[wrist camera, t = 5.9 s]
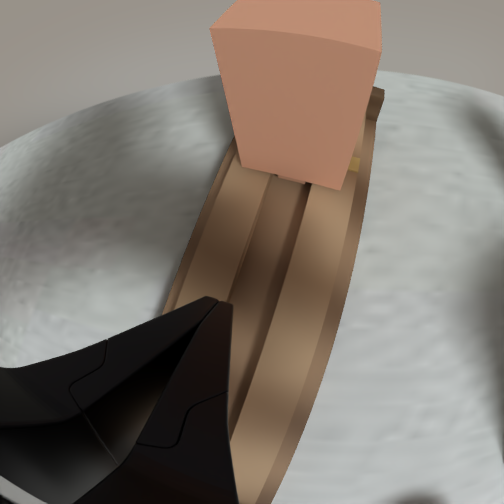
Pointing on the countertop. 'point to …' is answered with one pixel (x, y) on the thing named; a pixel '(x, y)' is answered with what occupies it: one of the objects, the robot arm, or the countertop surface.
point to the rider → (298, 82)
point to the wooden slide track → (276, 296)
